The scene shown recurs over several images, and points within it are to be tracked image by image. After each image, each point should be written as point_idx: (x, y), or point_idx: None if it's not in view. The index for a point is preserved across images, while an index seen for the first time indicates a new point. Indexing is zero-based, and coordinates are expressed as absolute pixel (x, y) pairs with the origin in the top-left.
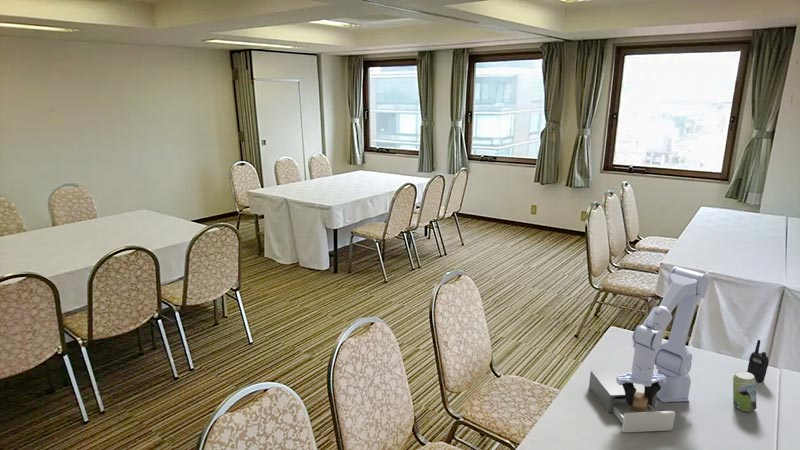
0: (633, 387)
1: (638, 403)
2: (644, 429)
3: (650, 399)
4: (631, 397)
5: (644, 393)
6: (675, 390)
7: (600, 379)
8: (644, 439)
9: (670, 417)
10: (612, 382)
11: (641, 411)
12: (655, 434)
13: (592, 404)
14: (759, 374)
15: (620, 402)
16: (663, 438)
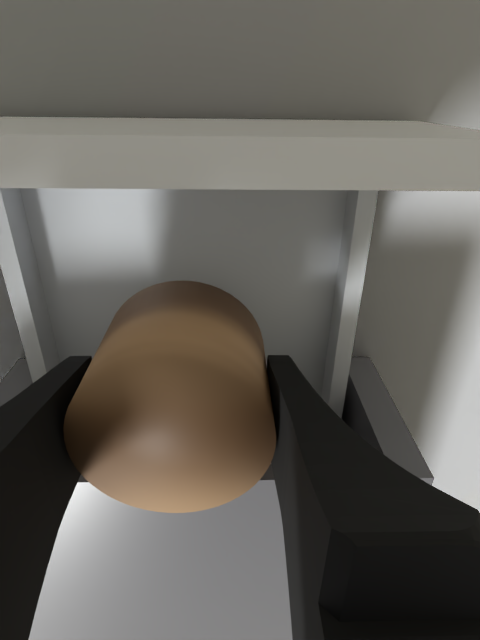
0: (368, 590)
1: (223, 344)
2: (220, 120)
3: (40, 391)
4: (320, 416)
5: (73, 482)
6: None
7: None
8: (272, 8)
9: None
10: (288, 605)
11: (185, 286)
12: (127, 79)
13: (415, 436)
14: None
15: None
16: (73, 6)
